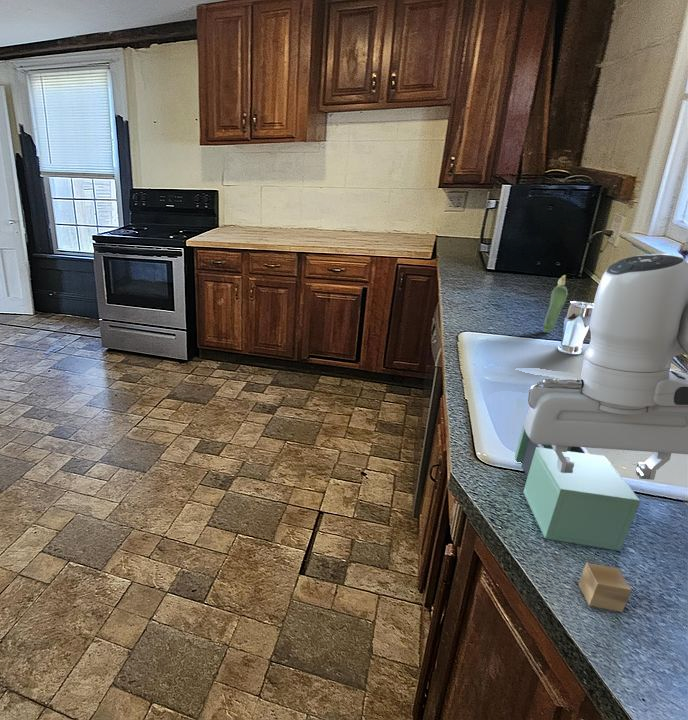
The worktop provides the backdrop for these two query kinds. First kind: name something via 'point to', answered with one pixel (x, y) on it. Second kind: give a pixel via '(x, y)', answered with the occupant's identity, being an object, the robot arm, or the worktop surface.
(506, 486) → the worktop surface
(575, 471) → the mint green box
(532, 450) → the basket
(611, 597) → the cube
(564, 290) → the vegetable
